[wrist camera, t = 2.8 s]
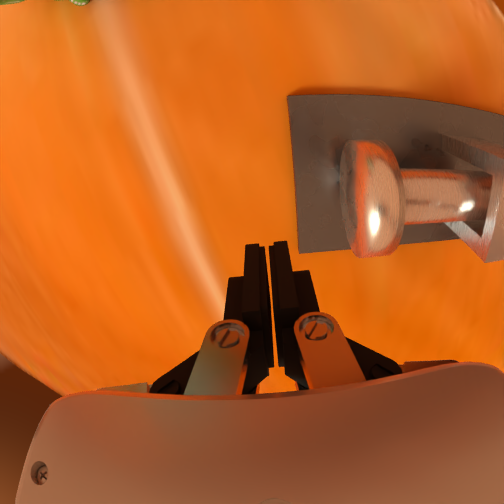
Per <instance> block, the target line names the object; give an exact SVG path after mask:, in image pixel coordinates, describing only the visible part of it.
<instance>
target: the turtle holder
mask: <svg viewBox="0 0 504 504" xmlns="http://www.w3.org/2000/svg"><path fill="white" fill-rule="evenodd" d="M22 1H24V0H0V5H5V4H14V3H19V2H22ZM70 1H71V2H72V3H74V4H76V5H79V6H82V5H86V4H87V3H88V2H89V1H90V0H70Z"/></svg>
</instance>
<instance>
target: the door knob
mask: <svg viewBox="0 0 504 504" xmlns="http://www.w3.org/2000/svg"><path fill="white" fill-rule="evenodd" d="M492 181H493V175H491V174H489V173H487V172H485V171H470V170H450V169H400V168H399V165H398V162H397V160H396V158H395V155H394V154H393V152H392V150H391V149H390V147H389V146H388V145H387V144H386V143H385V142H383V141H381V140H349V141H347V142H346V143H345V145H344V148H343V151H342V155H341V162H340V199H341V208H342V216H343V222H344V227H345V231H346V235H347V239H348V242H349V245H350V247H351V249H352V251H353V253H354V254H355V256H357V257H358V258H366V257H376V256H386V255H391V254H392V253H393V252H394V251H395V250H396V249H397V247H398V245H399V243H400V240H401V237H402V234H403V229H404V225H410V224H424V223H440V222H455V221H472V220H486V216H487V211H488V206H489V200H490V194H491V188H492Z"/></svg>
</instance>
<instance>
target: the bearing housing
mask: <svg viewBox="0 0 504 504" xmlns="http://www.w3.org/2000/svg"><path fill="white" fill-rule="evenodd" d="M287 103H288V112H289V122H290V133H291V144H292V156H293V168H294V182H295V196H296V213H297V231H298V250H299V254H301V253H312V252H323V251H335V250H346V249H351V247H350V245H349V242H348V239H347V235H346V231H345V227H344V222H343V216H342V208H341V199H340V162H341V155H342V151H343V148H344V145H345V143H346V142H347V141H349V140H381V141H383V142H385V143H386V144H387V145H388V146H389V147H390V149H391V150H392V152H393V154H394V155H395V158H396V160H397V162H398V165H399V168H400V169H450V170H470V171H485V172H487V173H489V174H491V175H493V181H492V188H491V194H490V200H489V206H488V211H487V216H486V220H472V221H455V222H440V223H424V224H410V225H404V229H403V234H402V237H401V240H400V243H399V245H400V244H411V243H421V242H432V241H442V240H452V239H462V240H463V241H464V242H465V243H466V244H467V245H468V246H469V247H470V248H471V249H472V250H473V251H474V252H475V253H476V254H477V255H478V256H479V257H480V258H481V259H482V261H483V262H484V263H487V262H493V261H499V260H504V116H503V115H499V114H495V113H492V112H487V111H483V110H479V109H474V108H469V107H465V106H459V105H454V104H448V103H442V102H435V101H428V100H421V99H412V98H402V97H390V96H375V95H346V94H325V95H296V96H287Z"/></svg>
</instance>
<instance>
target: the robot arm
mask: <svg viewBox="0 0 504 504" xmlns="http://www.w3.org/2000/svg"><path fill="white" fill-rule="evenodd" d="M269 257H270V270H271V284H272V299H273V312H274V322H275V333H276V343H277V354H278V365H279V367H285V375H287V376H288V377H290V378H291V379H293V380H294V381H295V386H296V390H297V391H290V392H279V393H265V394H259V389H260V386H259V383H260V382H261V381H262V380H263V379H265V378H266V377H267V376H269V368H272V367H274V355H273V336H272V318H271V302H270V292H269V282H268V273H267V264H266V255H265V247H264V246H263V247H259V243H258V244H247V245H246V246H245V262H244V276H241V277H230V278H229V280H228V288H227V295H226V303H225V312H224V320H223V321H219V322H217V323H215V324H214V325H212V326H211V327H210V328H209V329H208V331H207V333H206V335H205V337H204V340H203V343H202V346H201V348H200V350H199V351H198V352H196V353H195V354H193V355H192V356H191V357H189V358H188V359H186V360H185V361H183V362H182V363H180V364H179V365H178V366H176V367H175V368H173V369H172V370H170V371H169V372H167V373H166V374H164V375H163V376H161V377H160V378H158V379H157V380H156V381H155V382H154V383H153V385H148V384H147V382H146V383H139V384H131V385H123V386H115V387H105V388H100V389H97V390H96V391H84V392H78V393H74V394H69V395H66V396H63V397H61V398H59V399H57V400H56V401H54V402H53V403H52V404H51V405H50V406H49V408H48V409H47V411H46V412H45V414H44V416H43V418H42V420H41V422H40V423H39V425H38V428H37V430H36V433H35V435H34V437H33V440H32V443H31V445H30V448H29V451H28V454H27V457H26V461H25V464H24V468H23V471H22V475H21V479H20V483H19V487H18V491H17V496H16V502H15V504H504V373H503V372H502V371H501V370H499V369H498V368H497V367H495V366H493V365H489V364H485V363H478V362H458V361H456V360H437V361H411V362H404V364H403V365H398V364H397V363H396V362H395V361H393V360H391V359H389V358H387V357H385V356H383V355H381V354H379V353H377V352H375V351H373V350H371V349H369V348H367V347H365V346H363V345H361V344H359V343H357V342H355V341H353V340H351V339H349V338H347V337H345V336H344V334H343V332H342V330H341V328H340V326H339V324H338V322H337V321H336V320H335V318H334V317H332V316H331V315H329V314H326V313H323V312H320V311H319V306H318V302H317V298H316V294H315V290H314V287H313V283H312V279H311V275H310V272H309V270H304V271H294V272H293V271H292V266H291V260H290V255H289V249H288V244H287V241H278V242H274V245H273V246H269Z"/></svg>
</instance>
